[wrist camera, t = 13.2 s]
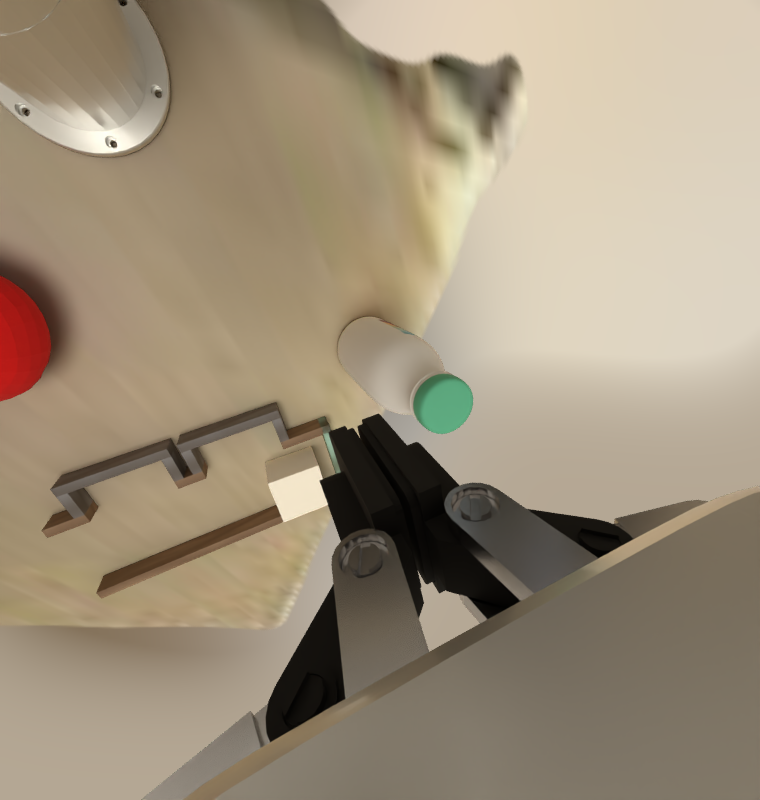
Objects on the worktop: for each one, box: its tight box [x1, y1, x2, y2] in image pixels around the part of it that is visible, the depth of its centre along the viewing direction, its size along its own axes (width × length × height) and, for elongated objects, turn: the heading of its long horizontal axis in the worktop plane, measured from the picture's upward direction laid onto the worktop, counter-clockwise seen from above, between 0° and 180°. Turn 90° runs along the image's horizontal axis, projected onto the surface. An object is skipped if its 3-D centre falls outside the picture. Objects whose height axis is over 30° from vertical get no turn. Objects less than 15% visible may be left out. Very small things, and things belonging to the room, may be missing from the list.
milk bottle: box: [337, 317, 473, 434], centre depth 36 cm, size 8×8×20 cm
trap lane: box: [42, 402, 341, 598], centre depth 43 cm, size 15×31×2 cm, turn 103°
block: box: [265, 446, 328, 522], centre depth 45 cm, size 6×6×5 cm
